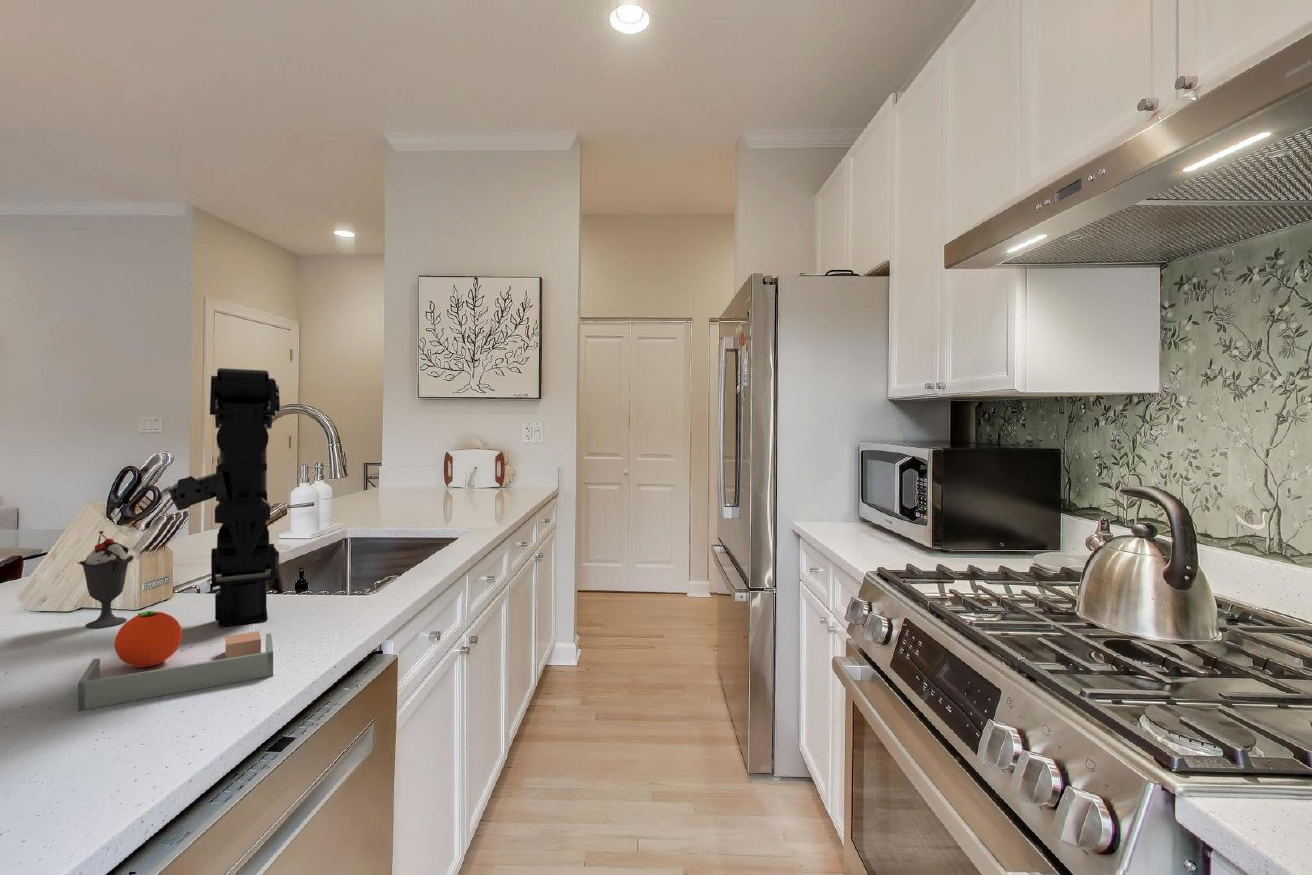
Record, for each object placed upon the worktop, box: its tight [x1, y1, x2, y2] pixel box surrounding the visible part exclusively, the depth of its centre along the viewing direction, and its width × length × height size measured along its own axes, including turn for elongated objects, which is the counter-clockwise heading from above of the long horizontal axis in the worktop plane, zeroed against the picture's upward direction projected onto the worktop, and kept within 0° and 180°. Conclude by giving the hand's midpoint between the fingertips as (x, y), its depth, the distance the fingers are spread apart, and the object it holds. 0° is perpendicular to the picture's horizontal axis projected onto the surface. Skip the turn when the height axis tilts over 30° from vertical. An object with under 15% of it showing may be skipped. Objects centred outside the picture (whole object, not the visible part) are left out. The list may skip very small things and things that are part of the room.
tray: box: [77, 632, 274, 712], centre depth 78 cm, size 18×8×3 cm, turn 123°
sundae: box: [77, 530, 134, 629], centre depth 97 cm, size 7×7×15 cm
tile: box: [224, 630, 262, 659], centre depth 86 cm, size 4×4×2 cm
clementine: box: [113, 610, 183, 668], centre depth 82 cm, size 8×7×7 cm
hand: (243, 562), depth 90 cm, fingers closed
